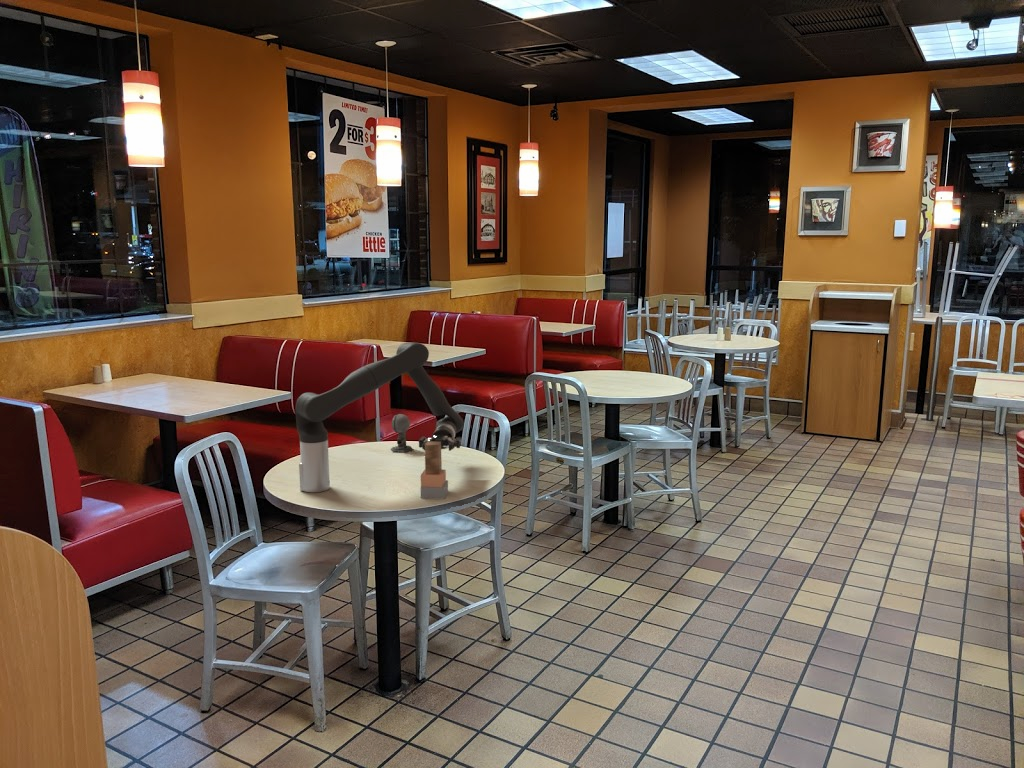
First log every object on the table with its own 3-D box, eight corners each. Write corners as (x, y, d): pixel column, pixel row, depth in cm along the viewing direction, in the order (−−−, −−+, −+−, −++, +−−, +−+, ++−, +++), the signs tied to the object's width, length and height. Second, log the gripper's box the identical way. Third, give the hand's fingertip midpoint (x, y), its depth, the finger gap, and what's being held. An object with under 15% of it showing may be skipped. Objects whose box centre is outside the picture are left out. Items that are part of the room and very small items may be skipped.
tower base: (420, 498, 255) (420, 487, 255) (424, 491, 263) (424, 479, 262) (444, 499, 255) (444, 487, 254) (448, 491, 263) (447, 480, 262)
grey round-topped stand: (394, 446, 320) (393, 411, 317) (416, 447, 318) (416, 412, 316) (387, 452, 312) (386, 416, 309) (410, 453, 310) (409, 417, 307)
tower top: (421, 486, 255) (420, 474, 255) (425, 480, 262) (425, 468, 261) (441, 487, 255) (441, 475, 254) (445, 480, 261) (445, 469, 261)
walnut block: (425, 473, 256) (424, 444, 254) (428, 470, 260) (427, 441, 258) (439, 474, 255) (438, 444, 253) (441, 470, 260) (441, 441, 258)
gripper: (423, 425, 277) (416, 436, 261) (463, 426, 276) (458, 437, 260) (424, 445, 278) (416, 458, 262) (463, 446, 277) (458, 458, 261)
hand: (437, 447), depth 261 cm, fingers open, 8 cm apart
